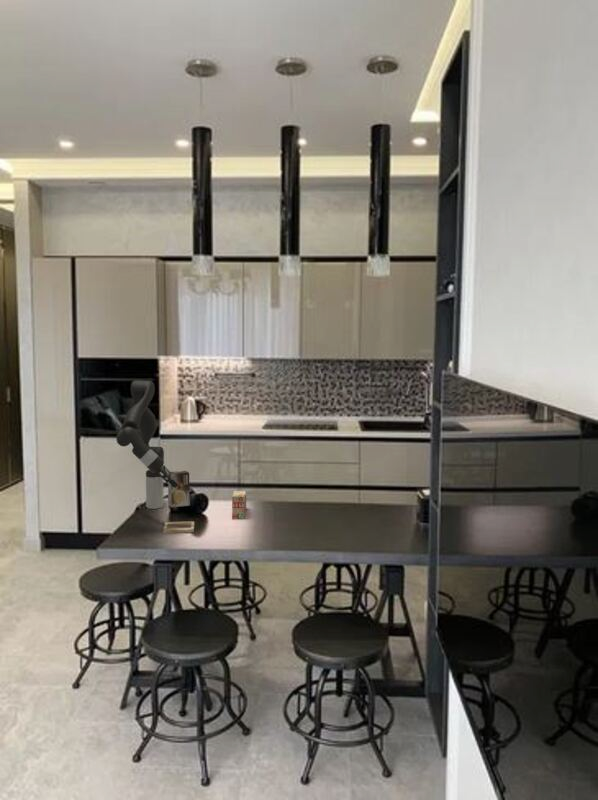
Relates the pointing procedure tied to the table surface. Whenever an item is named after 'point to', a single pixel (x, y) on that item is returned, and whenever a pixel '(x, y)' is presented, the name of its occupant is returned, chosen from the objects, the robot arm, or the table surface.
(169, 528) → the birch plate
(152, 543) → the table surface
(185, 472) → the coffee box
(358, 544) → the table surface
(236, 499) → the printed cardboard box
